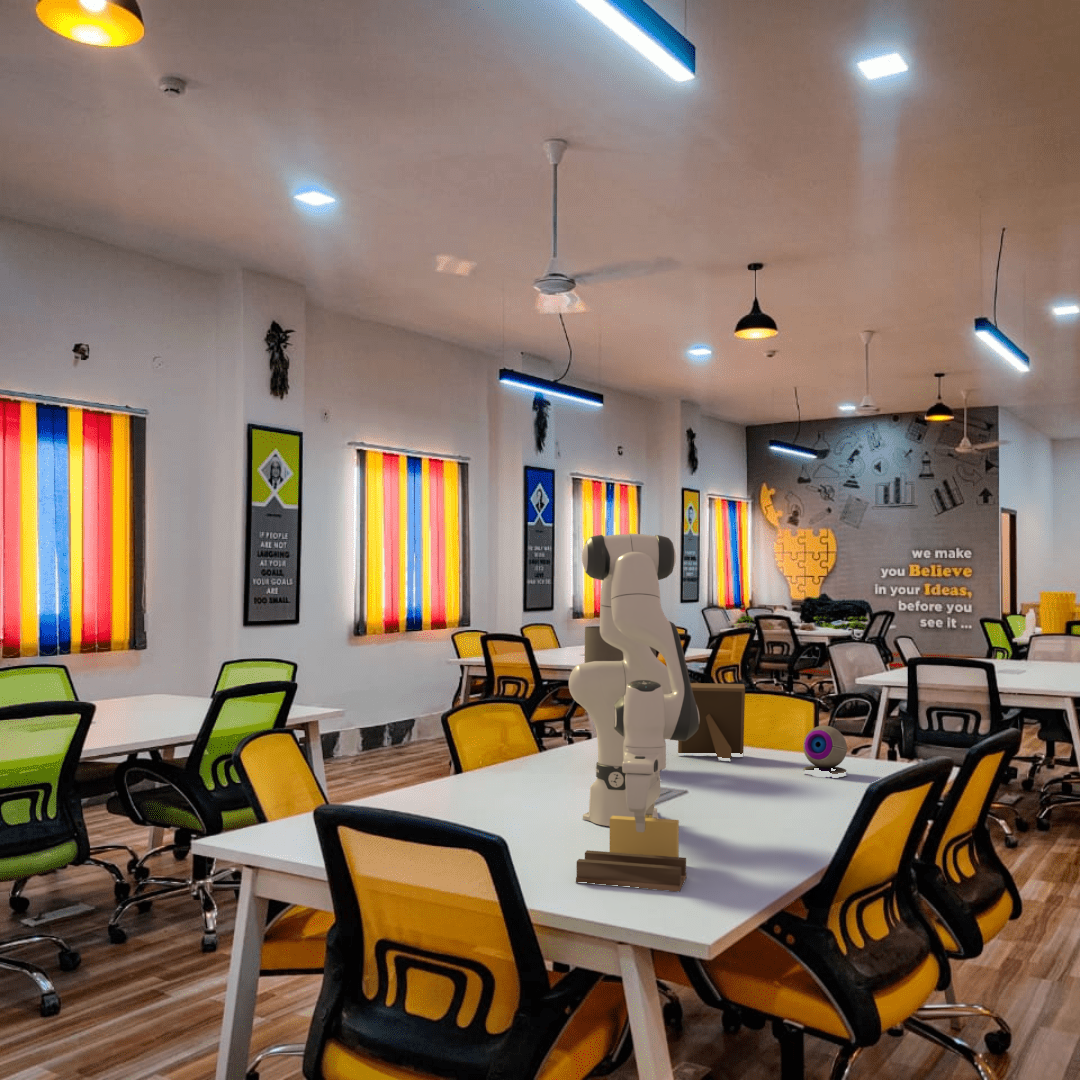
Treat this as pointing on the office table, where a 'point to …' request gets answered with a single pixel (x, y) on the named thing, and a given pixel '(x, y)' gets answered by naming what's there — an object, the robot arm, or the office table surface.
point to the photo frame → (717, 720)
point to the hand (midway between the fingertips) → (644, 826)
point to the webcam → (825, 749)
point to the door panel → (644, 836)
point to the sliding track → (632, 870)
